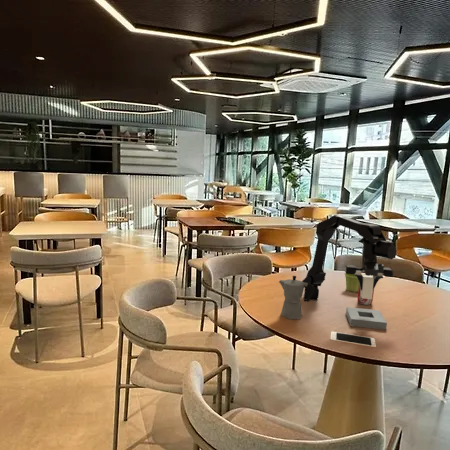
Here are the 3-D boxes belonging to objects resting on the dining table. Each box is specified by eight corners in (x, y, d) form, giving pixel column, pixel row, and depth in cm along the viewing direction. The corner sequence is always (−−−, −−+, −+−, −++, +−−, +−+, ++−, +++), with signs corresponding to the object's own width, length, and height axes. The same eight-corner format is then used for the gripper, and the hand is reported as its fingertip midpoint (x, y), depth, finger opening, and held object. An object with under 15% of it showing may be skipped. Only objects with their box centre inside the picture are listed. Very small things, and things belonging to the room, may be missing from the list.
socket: (350, 325, 154) (351, 318, 154) (345, 313, 168) (346, 307, 168) (386, 329, 152) (386, 322, 152) (378, 316, 166) (379, 310, 165)
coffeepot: (274, 316, 161) (276, 276, 158) (279, 309, 169) (281, 271, 167) (310, 323, 155) (313, 281, 153) (313, 315, 164) (316, 275, 161)
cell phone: (331, 332, 148) (331, 331, 148) (374, 339, 143) (374, 338, 143) (330, 340, 141) (330, 339, 141) (375, 348, 136) (376, 346, 136)
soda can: (373, 306, 179) (376, 282, 177) (358, 304, 180) (360, 280, 178) (371, 301, 185) (373, 278, 184) (356, 300, 187) (358, 276, 185)
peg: (362, 298, 157) (363, 277, 156) (360, 295, 161) (362, 275, 160) (372, 299, 157) (373, 278, 155) (370, 296, 160) (371, 275, 159)
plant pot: (365, 291, 202) (366, 275, 200) (354, 294, 196) (355, 278, 195) (350, 286, 209) (351, 271, 208) (339, 289, 204) (340, 273, 203)
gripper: (349, 256, 150) (346, 294, 152) (398, 260, 147) (394, 298, 149) (345, 251, 161) (343, 286, 163) (391, 254, 158) (388, 290, 160)
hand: (366, 290), depth 158 cm, fingers closed on peg, 4 cm apart
